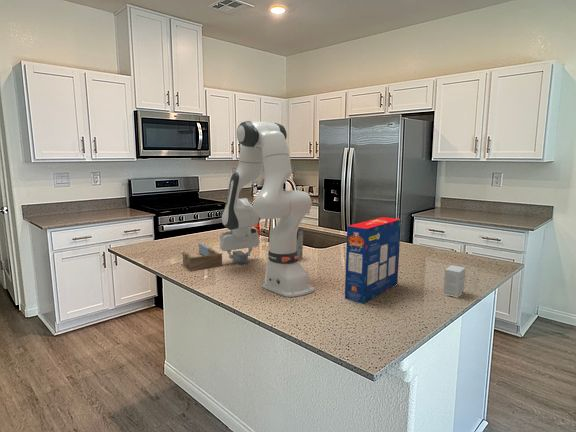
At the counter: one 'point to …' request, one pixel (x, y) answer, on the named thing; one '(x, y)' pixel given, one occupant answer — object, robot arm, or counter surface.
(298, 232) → the coffee box
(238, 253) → the dark gray rectangular block
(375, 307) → the counter surface
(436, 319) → the counter surface
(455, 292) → the small box
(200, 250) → the rounded end plank
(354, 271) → the blue red retail box
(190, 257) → the wooden u-shaped block
